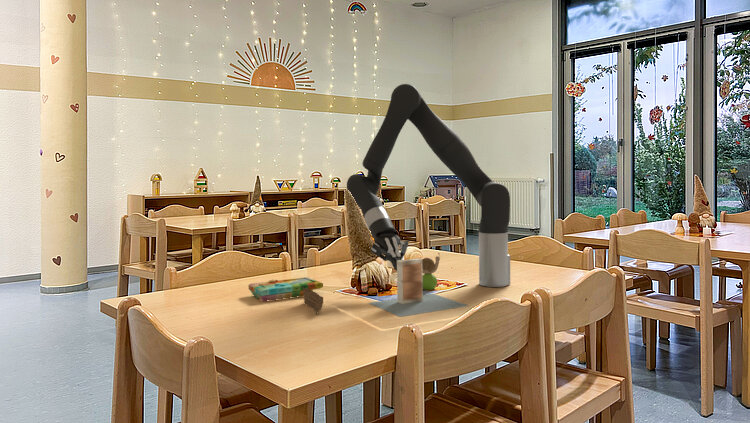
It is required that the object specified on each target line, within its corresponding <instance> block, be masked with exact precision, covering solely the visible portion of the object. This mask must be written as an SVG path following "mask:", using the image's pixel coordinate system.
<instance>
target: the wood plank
mask: <svg viewBox="0 0 750 423" xmlns="http://www.w3.org/2000/svg"><path fill="white" fill-rule="evenodd" d="M302 288H303V287H302ZM303 292H304V296H303V300H304V301H303V303H305V304H304V305H306V304H307V305H306V306H307V307H309V308H311V309H312V310H313V311H314V310H315V311H316V312H315V311H314V313H315V316H318V313H319V312H320V311H321V310H322V307H323V304H324V296H321V295H320V294H318V292H316V291H314V290H313V291H311V290H309V289H307V288H303Z"/></svg>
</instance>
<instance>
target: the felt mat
mask: <svg viewBox="0 0 750 423" xmlns="http://www.w3.org/2000/svg"><path fill="white" fill-rule="evenodd" d="M368 304H369V305H371V306H374V307H377V308H378V309H381V310H383V311H386V312H387V313H390V314H393V315H395V316H397V317H399V318H401V317H409V316H415V315H420V314H421V315H422V314H427V313H432V312H440V311H444V310H445V311H446V310H451V309H457V308H464V307H469V306H470V305H468V304H466V303H463V302H459V301H458V300H457V301H456V300H453V299H450V298H448V297H444V296H441V295H438V294H435V293H428V294H427V293H426V294H423V301H418V302H411V303H404V304H401V303H398V302H397V298H394V299H387V300H379V301H372V302H368Z"/></svg>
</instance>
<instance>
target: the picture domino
mask: <svg viewBox="0 0 750 423" xmlns="http://www.w3.org/2000/svg"><path fill="white" fill-rule="evenodd" d="M422 259H423V258H418V257H416V258H409V259H408V258H407V259H401V260H397V271H396V286H397V287H396V290H397V291H396V293H397V296H396V297H397V298H396V299H397V302H398V303H401V304H404V303H411V302H418V301H423V295H424V289H423V275H424V274H423V271H422V270H423V269H422Z"/></svg>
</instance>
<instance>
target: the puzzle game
mask: <svg viewBox="0 0 750 423" xmlns="http://www.w3.org/2000/svg"><path fill="white" fill-rule="evenodd" d="M302 287H303V288H307V289H309V290H311V291H314V290H319V289H322V288H323V287H324V283H323V282H321V281H319V280H316V279H313V278H311V277H296V278H289V279H280V280H278V279H270V280H268V281H263V282H253V283H249V284H248V290H249V291H250V293H251V295H252V296H253V295H254V296H256V297H257V298H256V297H255V298H256V299H258V298H259V299H261V300H263V301H266V302H268V301H267V300H274V301H277V300H276V299H281V300H284V299H283V298H288V299H291V298H290V297H295V298H298V297H297V296H302V297H305V296H304V292H303V288H302ZM254 296H253V297H254ZM259 299H258V300H259ZM261 300H260V301H261ZM263 301H262V302H263Z"/></svg>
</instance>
